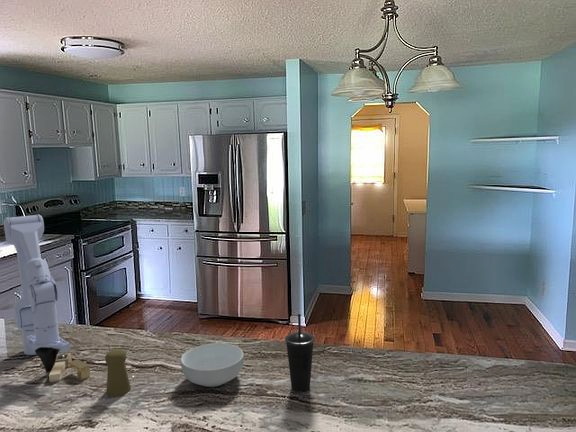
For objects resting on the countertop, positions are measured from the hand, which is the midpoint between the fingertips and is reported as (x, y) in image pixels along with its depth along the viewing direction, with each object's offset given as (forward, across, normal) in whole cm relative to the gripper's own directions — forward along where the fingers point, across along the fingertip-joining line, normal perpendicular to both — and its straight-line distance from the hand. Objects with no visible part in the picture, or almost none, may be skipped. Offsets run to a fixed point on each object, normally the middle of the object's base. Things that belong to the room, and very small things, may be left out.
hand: (50, 370), depth 124 cm
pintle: (+2, -1, +5) cm, 5 cm away
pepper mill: (+2, +24, +1) cm, 24 cm away
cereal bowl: (+1, +44, +15) cm, 47 cm away
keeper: (+2, +9, +2) cm, 9 cm away
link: (+1, +1, +2) cm, 2 cm away
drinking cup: (+1, +68, +20) cm, 71 cm away
